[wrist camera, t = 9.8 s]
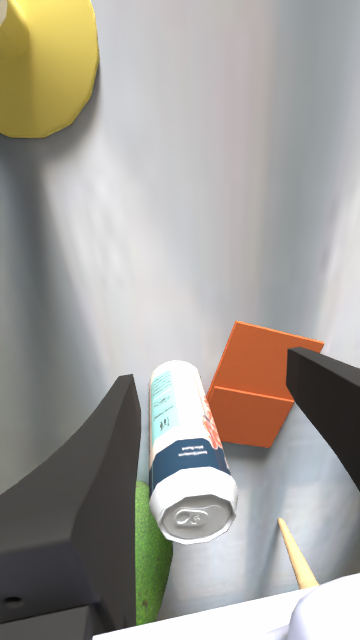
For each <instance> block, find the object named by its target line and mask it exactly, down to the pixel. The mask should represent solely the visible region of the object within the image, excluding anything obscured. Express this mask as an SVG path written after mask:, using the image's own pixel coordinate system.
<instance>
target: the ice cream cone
mask: <svg viewBox="0 0 360 640" xmlns="http://www.w3.org/2000/svg"><path fill="white" fill-rule="evenodd" d="M278 523H279V526H280V529H281V532H282V535H283V538H284V542H285V545H286V548H287V551H288V554H289V558H290V561H291V564H292V567H293V570H294V573H295V576H296V579H297V582H298V585H299V590H302V589H306V588H311V587H315V586H319V585H320V584H319V583H318V582H316V579H315V578H314V576H313V574H312V572H311V570H310V568H309V566H308V564H307V562H306V560H305V559H304V557H303V555H302V553H301V552H300V550H299V548H298V546H297V544H296V542H295V540H294V539H293V537H292V535H291V533H290V532H289V530H288V528H287V526H286V524H285V522H284V521H283V519H281V518H279V519H278Z"/></svg>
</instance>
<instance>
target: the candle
mask: <svg viewBox="0 0 360 640" xmlns="http://www.w3.org/2000/svg"><path fill="white" fill-rule="evenodd" d="M98 64H99V49H98V39H97V29H96V19H95V12H94V9H93V7H92V4H91V2H90V0H0V133H1V134H4V135H6V136H8V137H10V138H45V137H47V136H49V135H51V134H53V133H55V132H57V131H59V130H61V129H63V128H65V127H67V126H69V125H71V124H72V123H73V121H74V120H75V119H76V117H77V116H78V114H79V113H80V112H81V110H82V109H83V108H84V106H85V105H86V103H87V102H88V101H89V99H90V98H91V95H92V90H93V86H94V81H95V77H96V73H97V68H98Z"/></svg>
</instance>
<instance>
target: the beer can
mask: <svg viewBox="0 0 360 640" xmlns="http://www.w3.org/2000/svg"><path fill="white" fill-rule="evenodd" d="M237 500H238V488H237V486H236V483H235V481H234V480H233V478H232V475H231V472H230V469H229V466H228V463H227V460H226V457H225V454H224V451H223V447H222V444H221V441H220V438H219V435H218V432H217V429H216V426H215V423H214V420H213V417H212V413H211V410H210V407H209V404H208V401H207V398H206V395H205V392H204V389H203V386H202V383H201V376H200V374H199V372H198V370H197V369H196V368H195V367H194V366H193V365H191V364H190V363H187V362H184V361H169V362H166V363H164V364H162V365H160V366H159V367H157V368H156V369H155V371H154V372H153V373H152V375H151V377H150V381H149V505H150V511H151V513H152V515H153V516H154V518H155V520H156V521H157V524H158V527H159V528H160V530H161V532H162V533H163V535H164V537H165V538H166V539H167V540H170V541H174V542H177V543H180V544H183V545H190V544H197V543H204V542H209V541H211V540H213V539H214V538H216V537H218V536H220V535H221V534H223V533H225V532H227V531H228V529H229V527H230V526H231V524H232V522H233V521H234V519H235V517H236V507H237Z"/></svg>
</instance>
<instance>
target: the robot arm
mask: <svg viewBox="0 0 360 640" xmlns="http://www.w3.org/2000/svg"><path fill="white" fill-rule="evenodd" d="M286 386H287V388H288V390H289V392H290V394H291V395H292V397H293V399H294V400H295V402H296V404H297V405H298V406H299V407H300V409H301V410H302V411H303V413H304V414H305V415H306V416H307V418H308V419H309V420H310V422H311V423H312V424H313V425H314V427H315V428H316V429H317V430H318V432H319V433H320V434H321V435H322V437H323V438H324V439H325V440H326V442H327V443H328V444H329V446H330V447H331V448H332V450H333V451H334V452H335V454H336V455H337V457H338V458H339V460H340V461H341V463H342V464H343V466H344V467H345V469H346V471H347V472H348V474H349V475H350V477H351V478H352V480H353V482H354V483H355V485H356V486H357V488H358V490H359V491H360V369H359V368H356V367H353V366H351V365H348V364H345V363H343V362H340V361H338V360H335V359H332V358H330V357H327V356H325V355H322V354H320V353H317V352H315V351H312V350H309V349H306V348H303V347H295V348H289V349H287V369H286ZM140 439H141V409H140V404H139V400H138V395H137V391H136V386H135V382H134V377H133V374H130V375H124V376H119V377H118V378H117V380H116V381H115V383H114V384H113V386H112V387H111V389H110V390H109V391H108V393H107V394H106V396H105V397H104V398H103V400H102V401H101V403H100V404H99V405H98V407H97V408H96V409H95V411H94V412H93V413H92V414H91V415H90V417H89V418H88V419H87V420H86V421H85V423H84V424H83V425H82V426H81V427H80V428H79V429H78V430H77V432H76V433H75V434H74V435H73V436H72V437H71V438H70V439H69V440H68V441H67V442H66V443H65V444H64V445H62V446H61V447H60V448H59V449H58V450H57V451H56V452H55V453H53V454H52V455H51V456H50V457H49V458H48V459H47V460H46V461H44V462H43V463H42V464H41V465H40V466H38V467H37V468H36V469H35V470H33V471H32V472H31V473H30V474H28V475H27V476H26V477H24V478H23V479H22V480H20V481H19V482H18V483H17V484H15V485H14V486H12V487H11V488H10V489H8V490H7V491H5V492H4V493H2V494H1V495H0V640H360V573H358V574H354V575H349V576H345V577H341V578H338V579H336V580H333V581H330V582H327V583H324V584H322V585H319V586H315V587H311V588H306V589H302V590H297V591H293V592H288V593H284V594H279V595H275V596H270V597H266V598H261V599H257V600H252V601H248V602H243V603H239V604H234V605H230V606H225V607H221V608H216V609H212V610H207V611H203V612H198V613H194V614H189V615H185V616H180V617H176V618H171V619H167V620H162V621H158V622H153V623H149V624H144V625H140V626H137V623H136V574H135V492H136V478H137V468H138V459H139V449H140Z"/></svg>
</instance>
